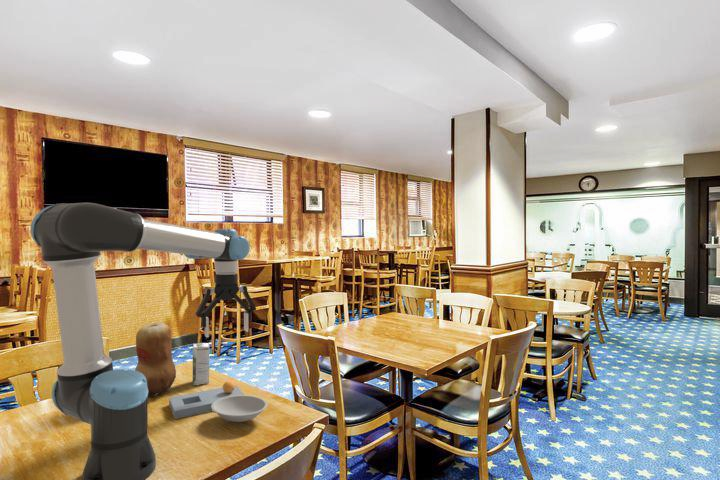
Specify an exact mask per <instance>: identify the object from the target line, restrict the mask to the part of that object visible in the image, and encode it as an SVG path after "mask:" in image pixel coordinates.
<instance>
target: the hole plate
mask: <svg viewBox="0 0 720 480" xmlns="http://www.w3.org/2000/svg"><path fill="white" fill-rule="evenodd" d="M235 395H245V394H244V393H243V391H242V390H241V389H240V388H239V386H238V385H237V384H235V389H234V391H233V392H231V393H226V392H224V390H223V386H221V387H217V388H211V389H208V390H203V391H202V390H201V391H196V392H192V393H186V394H182V395H176V396H169V399H168V402H169V404H168V406H169V408H170V410H171V411H170V412H171V413H172V416H173V419H174V420H177V419H182V418H188V417H189V416H190V417H191V416H196V415H200V413H201V414H205V413H208V412H207V411H210V412H212V411H211V410H212V409H211V405H212V403H213V402H215V401H216V400H218V399H221V398H224V397H228V396H235ZM204 412H205V413H204Z"/></svg>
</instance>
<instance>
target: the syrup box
mask: <svg viewBox="0 0 720 480" xmlns="http://www.w3.org/2000/svg"><path fill="white" fill-rule="evenodd" d="M205 383H210V344H209V343H207V342H200V343H193V344H192V386H193V387H195V386H194V385H197V386H200V385H199V384H203V385H206V384H205Z"/></svg>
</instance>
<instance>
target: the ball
mask: <svg viewBox="0 0 720 480" xmlns="http://www.w3.org/2000/svg"><path fill="white" fill-rule="evenodd" d="M235 385H236V384H235V383H234V381H233V380H227V381H225V382H224V383H223V385H222V387H223V390H224V392H226V393H231V392H233V391H234V389H235Z"/></svg>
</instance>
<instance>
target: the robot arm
mask: <svg viewBox="0 0 720 480" xmlns="http://www.w3.org/2000/svg"><path fill="white" fill-rule="evenodd" d="M30 235H31V238H32V240H33V241H34V243H36V245H37V246H39V248H41V255H42V262H43V263H44V264H46V265H47V266H49V267H50V268H51V270H52V277H53V278H52V279H53V288H54V294H55V303H56V304H55V305H56V311H57V319H58V327H59V336H60V343H61V350H62V351H61V352H62V358H63V362H62V364H61V366H60V367H58V369H57V372H56V375H57V380H56V381H55V382H54V383H53V386H52V389H51V398H52V399H51V400H52V402H53V405H54V406H55V407H56V409H58V410H59V411H60V412H61V413H62V414H64V415H66V416H67V417H68V416H69V417H70V418H74V419H77V420H79V421H80V422H83V423H85V424H89V425H90V442H91V443H90V450H89V453H88V456H87V459H86V461H85V465H84V468H83V470H82V477H81V479H82V480H146V479H147V478H149V477H150V475H152V473H153V472H154V471H155V469H156V465H157V462H156V461H157V460H156V458H157V457H156V453H155V450H154V448H153V446H152V442H151V440H150V438H149V435H148V431H149V430H148V426H149V425H148V423H149V422H148V420H149V419H148V414H149V413H148V406H149V405H148V399H149V398H148V396H149V395H148V387H147V380H146V377H145V376H144V375H143V374H142V373H140V372H138V371H135V369H124V368H121V369H120V368H119V369H114V367H113V359H112V357H111V356H108V355H107V354H106V353H105V349H104V340H103V331H102V322H101V313H100V303H99V296H98V295H99V294H98V285H97V277H96V268H95V263H96V262H97V260H98V259H99V258H100V257H101V252H125V253H131V252H135V251H137V250H145V251H154V252H164V253H171V254H172V253H173V254H179V255H184V257H185V258H188V259H190V260H191V259H195V260H198V259H210V260H212V259H214V272H215V274H214V288H208V287H205V289H204V290H205V291H204V296H203V297H202V300H201V302H200V304H199V305H198V308H197V310H196V312H195V316H196V317H197V318H201V320H200V321H201V327H202V328H204V337H205V338H207V339H208V338H209V337H210V327H209V326H210V324H209V323H210V320H209V317H208V315H210V313H211V312H212V311H213V309H214V308H215V307H216V305H218V303H220V302H221V301H227V300H229V301H231V300H235V301H236V302H237V303H238V305H240V306H241V308H243V309H244V311H245V312H243V330H244V332H246V333H248V332H249V322H252V313H253V312H254V311H256V310H257V307H256V305H255V304H254V302H253V299H252V298H251V296H250V294H249V292H248V287H247V285H244V284H242V285H241V286H239V285H238V284H239V282H238V281H239V280H238V279H239V278H238V277H239V275H238V273H237V272H238V270H239V268H238V266H239V264H238V261H241V260H244V259H245V258H247V256H249V255H248V254H249V252H250V242H249V240H248V239H247V238H246V237H245V236H243V235H238V232H237V230H236V229H234V228H216V229H215V230H214V231H210V230H205V229H200V228H199V229H198V228H193V227H187V226H184V225H183V226H182V225H177V224H171V223H167V222H162V221H155V220H150V219H147V218H143V217H142V216H141V215H140V214H139V213H136V212H130V211H126V210H124V209H119V208H115V207H111V206H106V205H103V204H99V203H96V202H95V203H94V202H75V203H74V202H73V203H65V202H63V203H56V204H54V205H50V206H49V205H48V206H46V207H44V208H43V209H41V210H40V211H38V213H37V214H35V216H34V217H33V219H32V221H31V223H30ZM239 291H240V292H241V293H242V294H243V296H244V298H245V300H246V302H247V304H248V305H247V304H246V303H245V302H244V301H243V300H242V299H241V297H239V295H238V293H239ZM213 294H215V296H214V297H213V299H212V300H211V302H210V303H209V304H208V302H209V299H210V297H211V295H212V296H213ZM207 304H208V305H207ZM206 305H207V306H206ZM205 307H206V308H205Z"/></svg>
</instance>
